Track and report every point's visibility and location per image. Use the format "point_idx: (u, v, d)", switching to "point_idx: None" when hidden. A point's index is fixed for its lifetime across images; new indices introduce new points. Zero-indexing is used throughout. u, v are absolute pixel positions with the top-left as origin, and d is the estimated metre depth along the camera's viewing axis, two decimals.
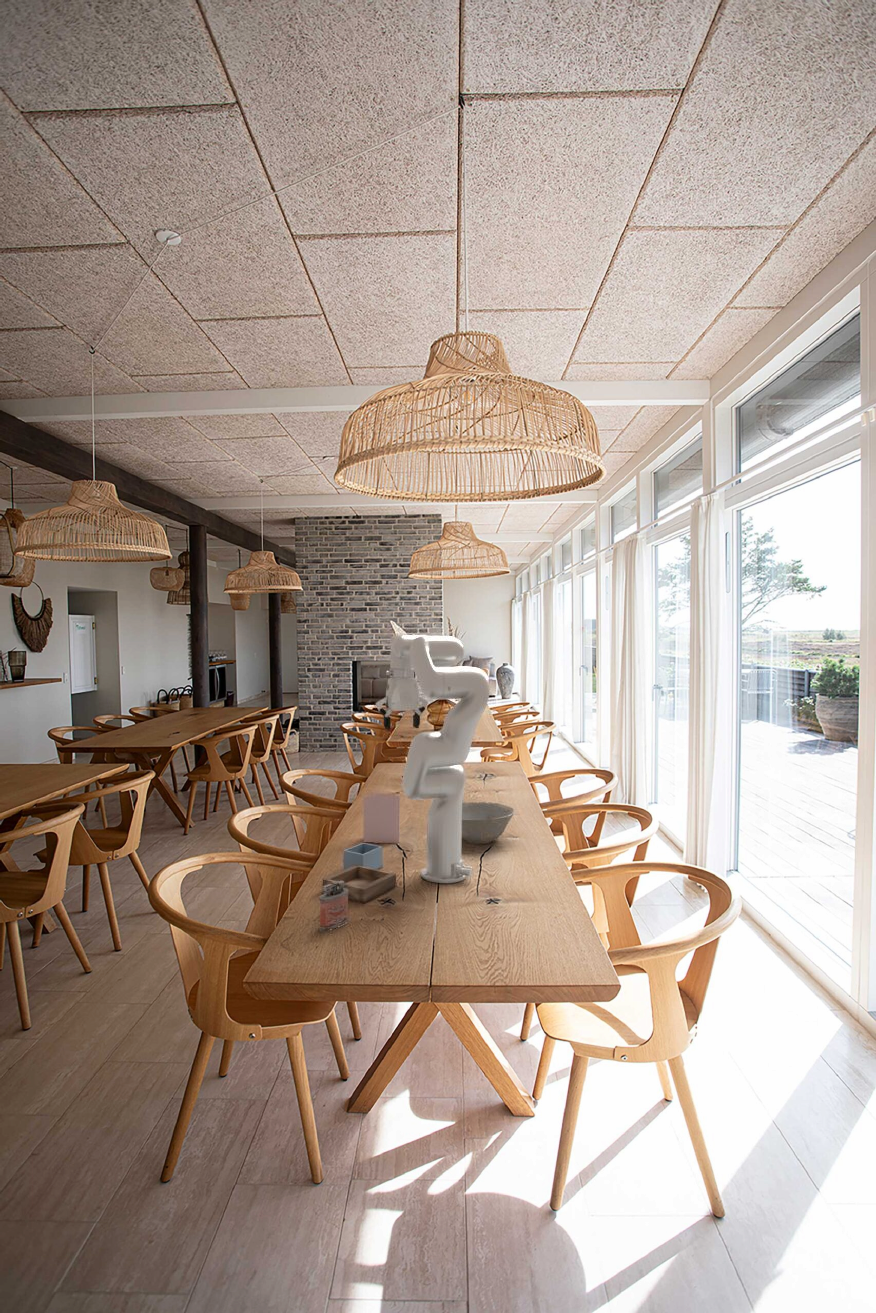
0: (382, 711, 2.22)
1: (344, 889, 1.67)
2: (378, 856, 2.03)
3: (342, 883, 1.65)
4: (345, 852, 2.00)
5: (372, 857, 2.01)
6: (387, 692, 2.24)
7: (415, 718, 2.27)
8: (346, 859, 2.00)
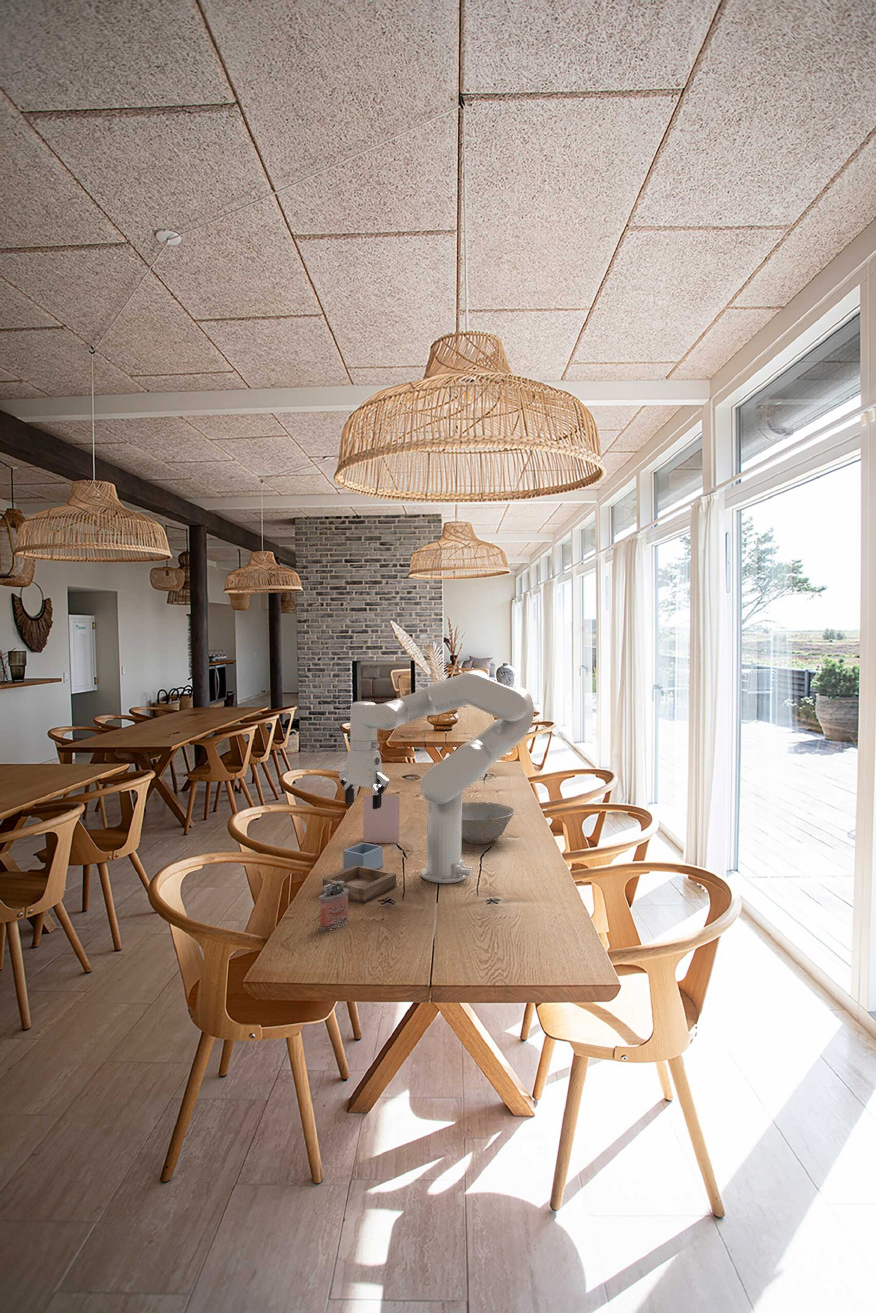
0: None
1: (344, 889, 1.67)
2: (378, 856, 2.03)
3: (342, 883, 1.65)
4: (345, 852, 2.00)
5: (372, 857, 2.01)
6: (377, 767, 1.99)
7: (351, 792, 2.05)
8: (346, 859, 2.00)
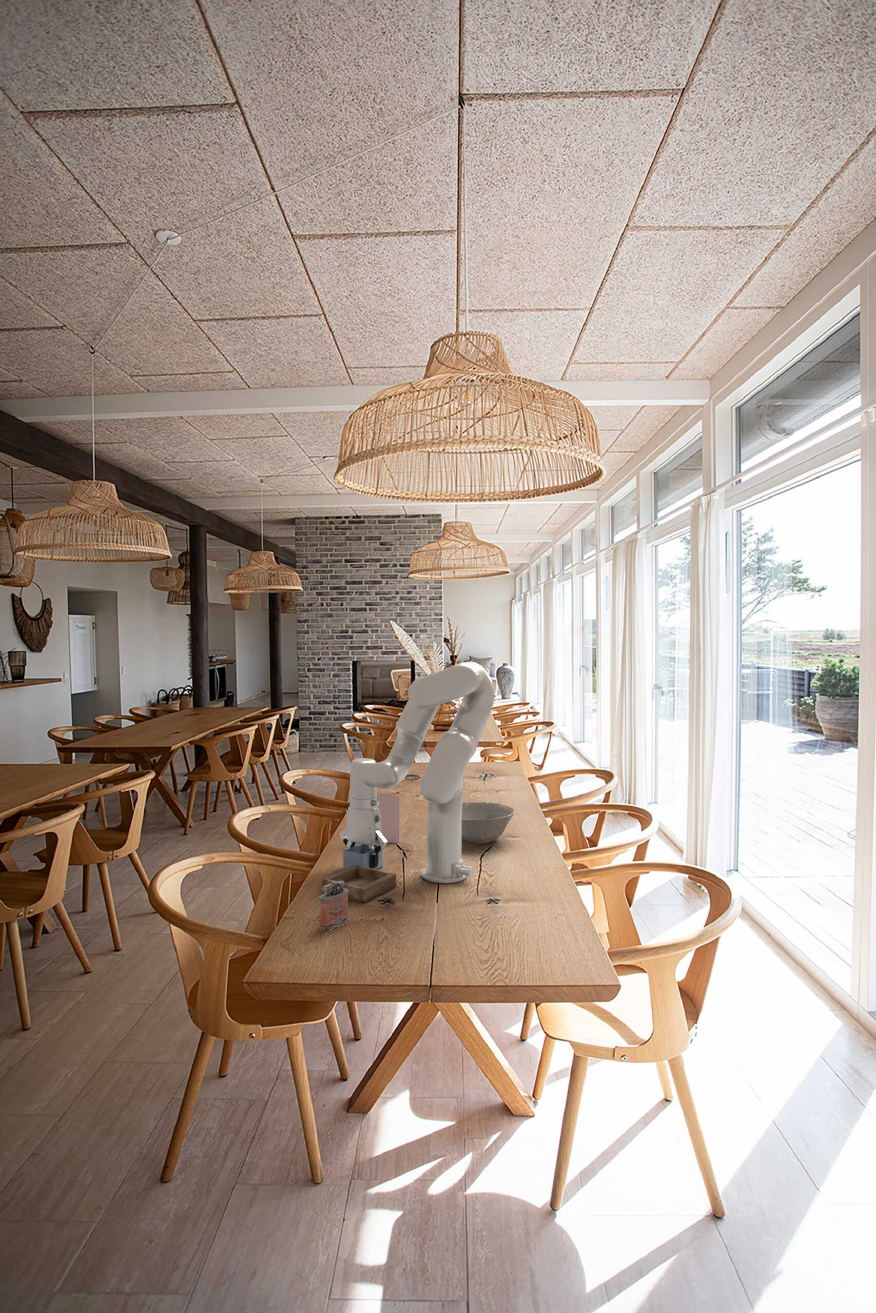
0: None
1: (344, 889, 1.67)
2: (378, 856, 2.03)
3: (342, 883, 1.65)
4: (345, 852, 2.00)
5: None
6: (377, 824, 2.00)
7: None
8: (346, 859, 2.00)
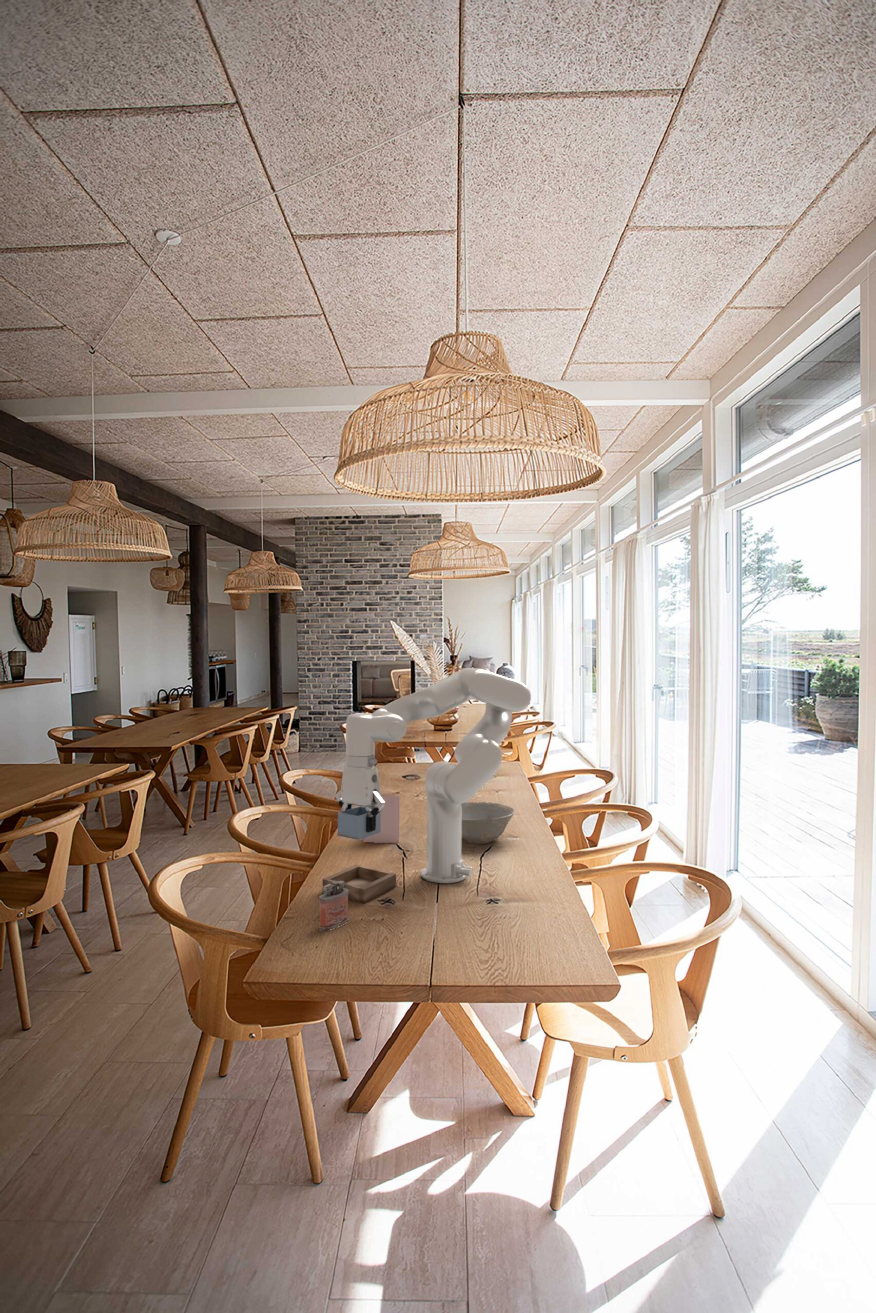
0: None
1: (344, 889, 1.67)
2: None
3: (342, 883, 1.65)
4: (340, 814, 1.85)
5: None
6: (374, 784, 1.85)
7: None
8: (341, 822, 1.85)
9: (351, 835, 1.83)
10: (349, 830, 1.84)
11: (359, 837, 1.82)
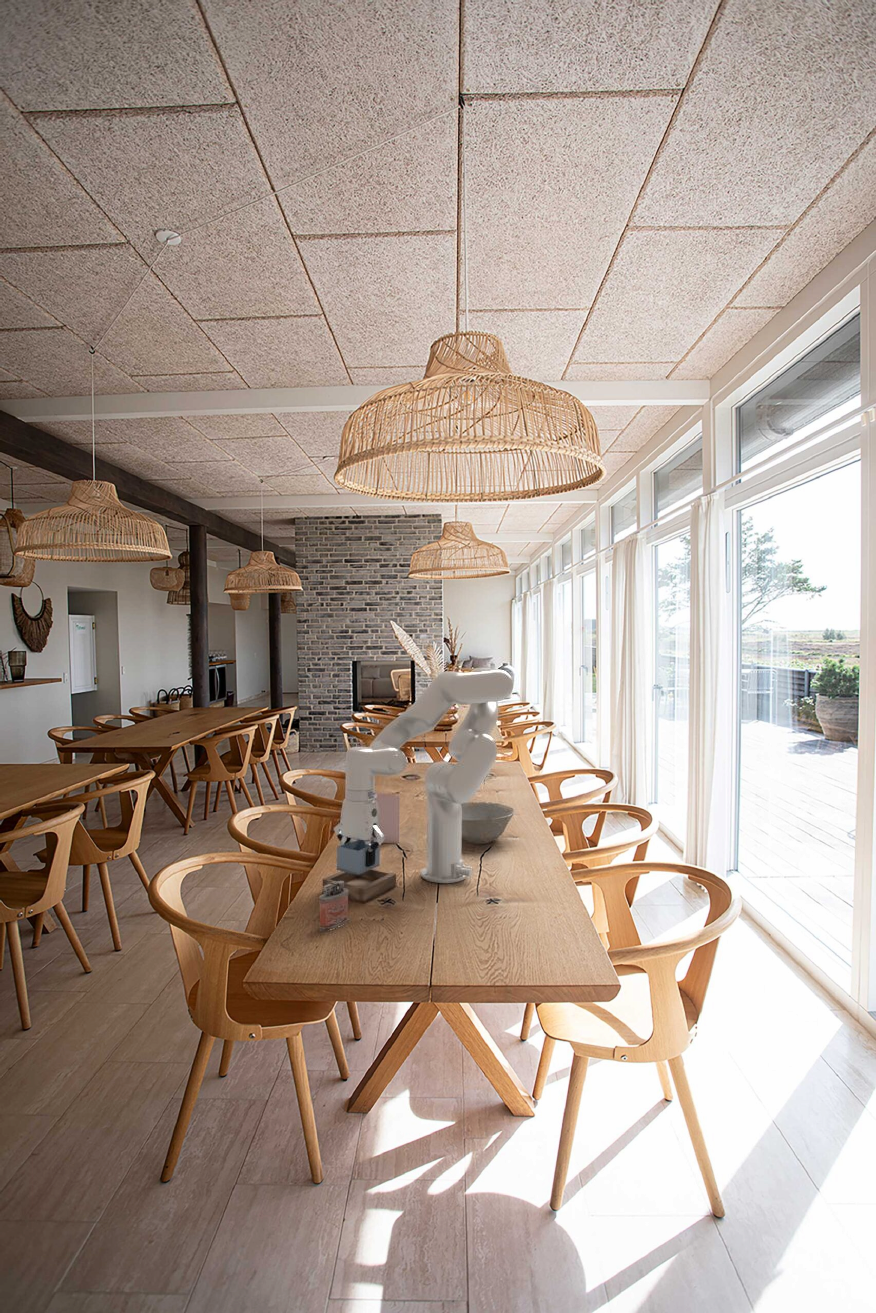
0: None
1: (344, 889, 1.67)
2: (375, 853, 1.87)
3: (342, 883, 1.65)
4: (339, 848, 1.84)
5: None
6: (374, 819, 1.84)
7: None
8: (340, 856, 1.84)
9: (350, 870, 1.82)
10: (348, 865, 1.83)
11: (359, 872, 1.81)
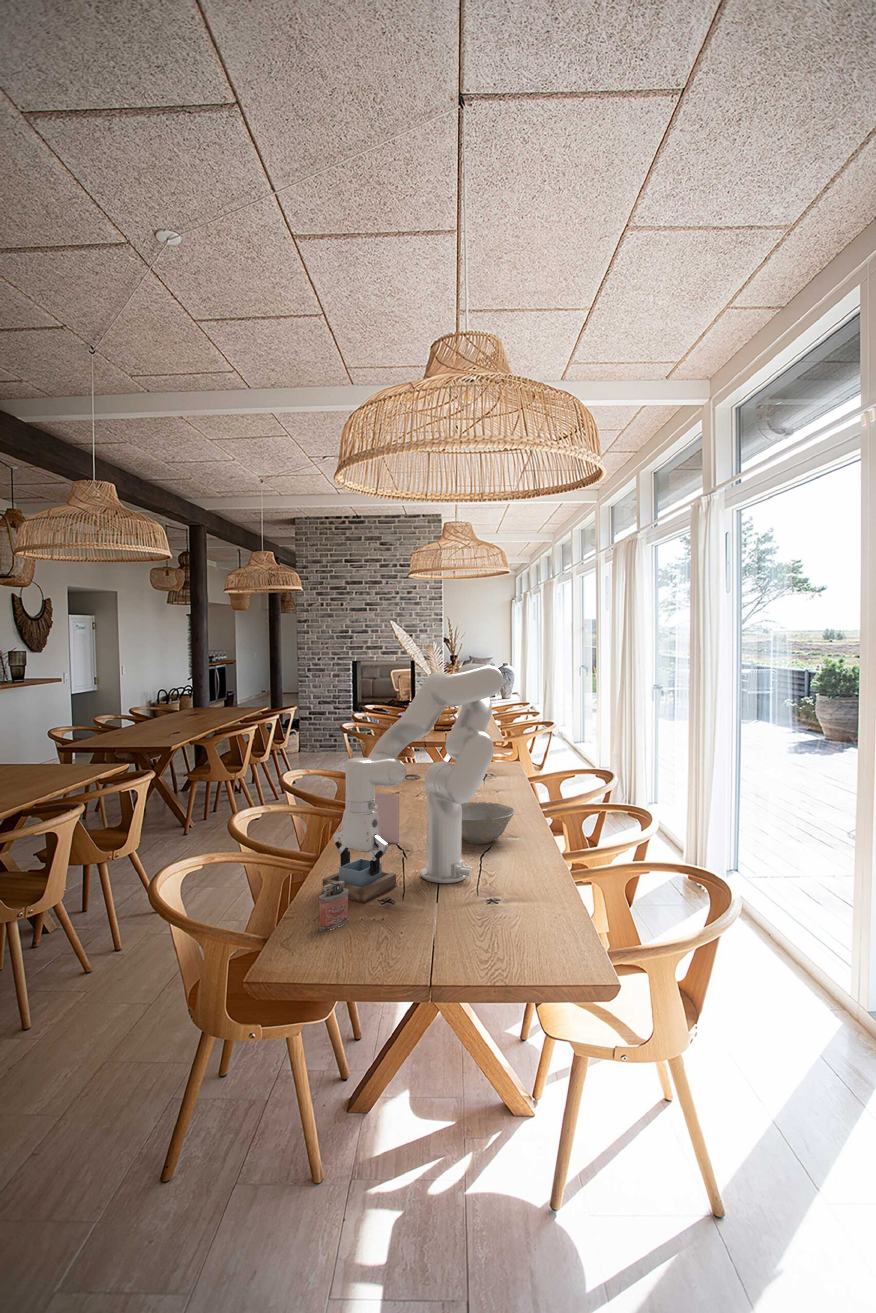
0: None
1: (344, 889, 1.67)
2: None
3: (342, 883, 1.65)
4: (341, 869, 1.84)
5: None
6: (375, 829, 1.84)
7: (347, 856, 1.90)
8: (342, 877, 1.84)
9: None
10: None
11: None
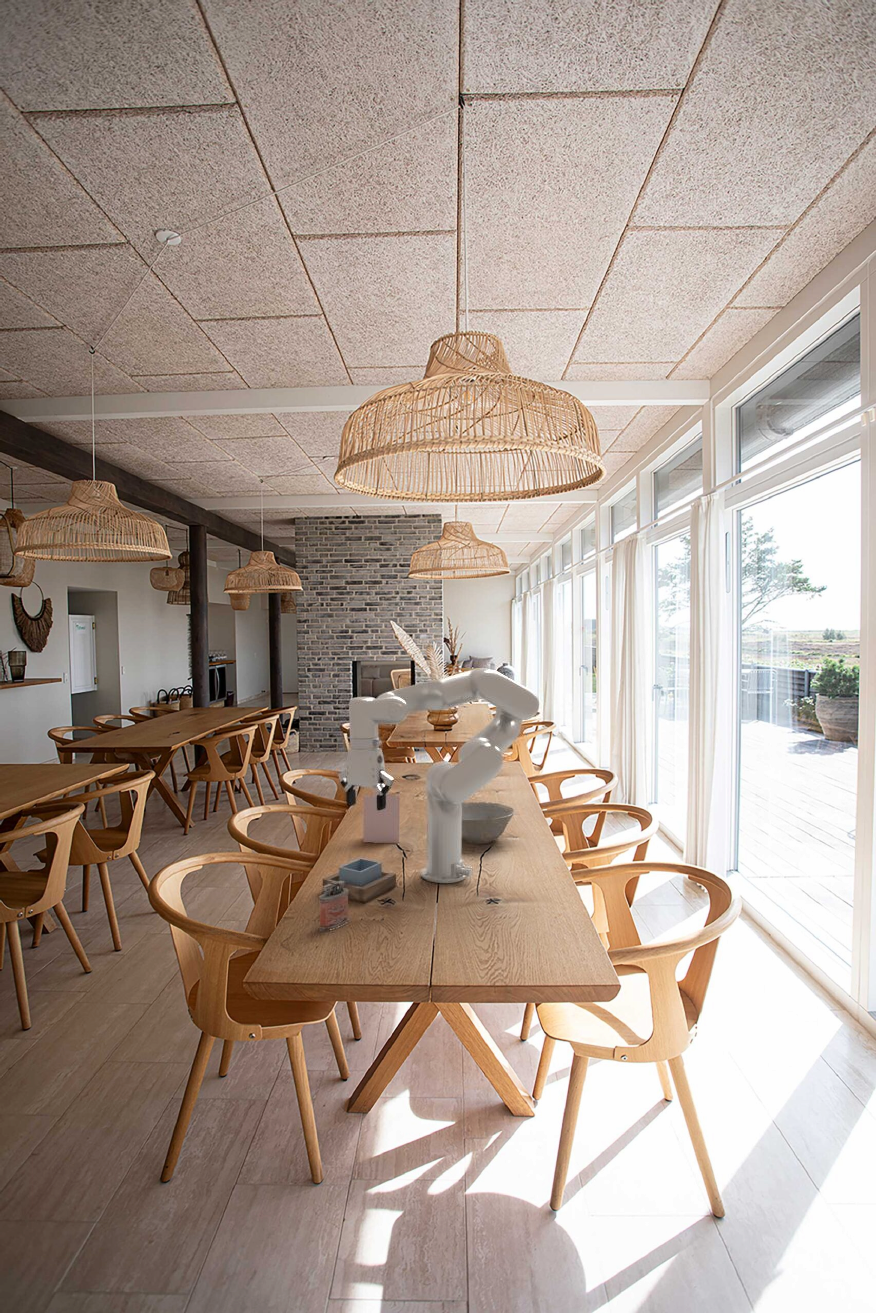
0: None
1: (344, 889, 1.67)
2: (377, 873, 1.87)
3: (342, 883, 1.65)
4: (341, 869, 1.84)
5: (370, 874, 1.85)
6: (380, 765, 1.88)
7: (353, 794, 1.93)
8: (342, 877, 1.84)
9: None
10: None
11: None
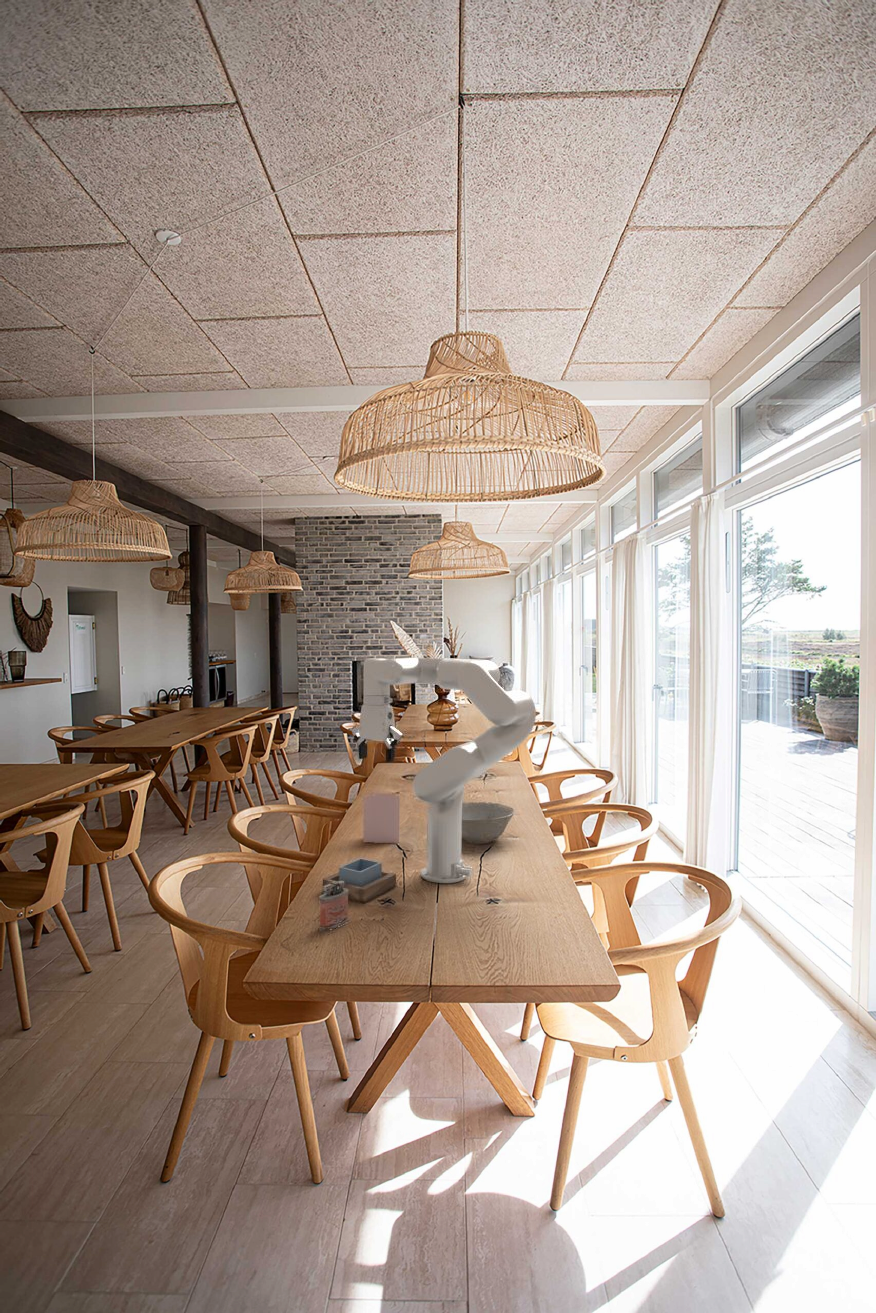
0: None
1: (344, 889, 1.67)
2: (377, 873, 1.87)
3: (342, 883, 1.65)
4: (341, 869, 1.84)
5: (370, 874, 1.85)
6: (390, 721, 2.04)
7: (365, 748, 2.09)
8: (342, 877, 1.84)
9: None
10: None
11: None
